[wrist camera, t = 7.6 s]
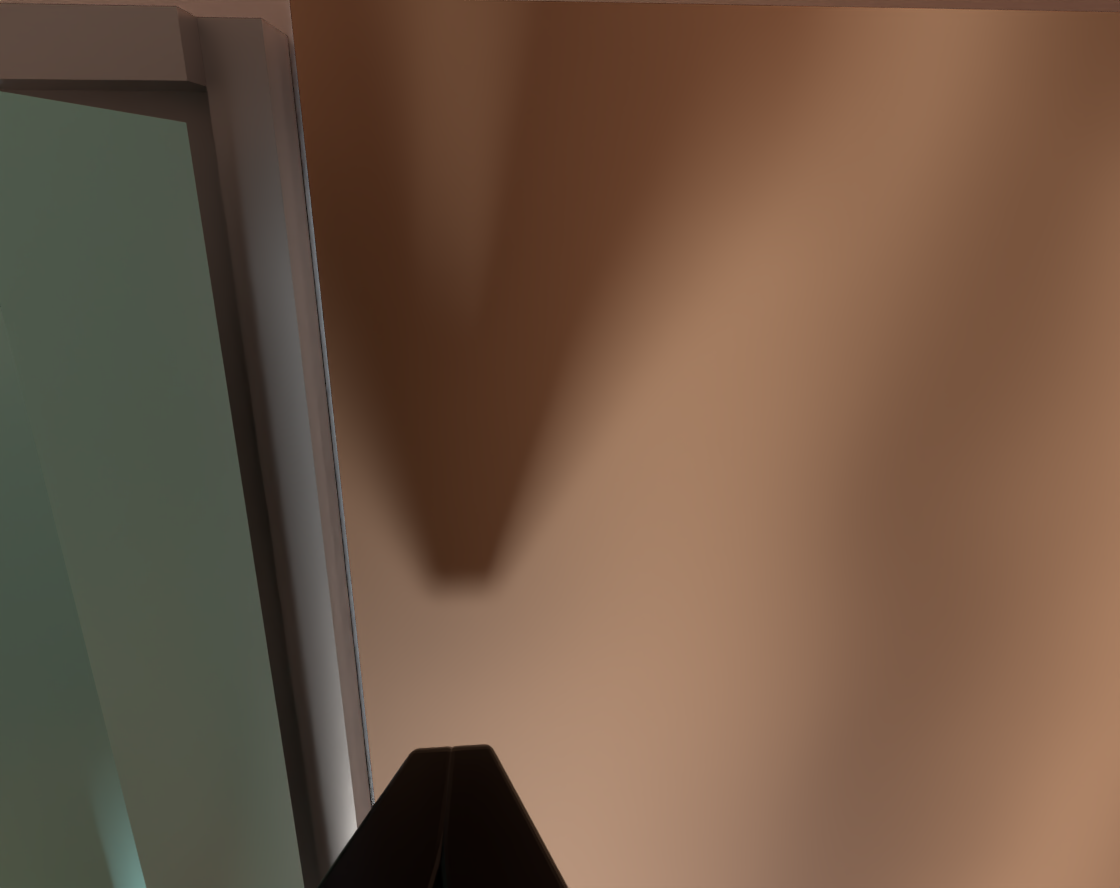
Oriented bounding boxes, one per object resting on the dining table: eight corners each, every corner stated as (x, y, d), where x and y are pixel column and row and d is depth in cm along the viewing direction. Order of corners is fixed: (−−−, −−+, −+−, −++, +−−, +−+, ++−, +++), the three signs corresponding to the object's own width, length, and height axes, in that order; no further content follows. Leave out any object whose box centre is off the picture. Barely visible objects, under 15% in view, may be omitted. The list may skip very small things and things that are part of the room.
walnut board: (1480, 53, 9) (1729, 23, 8) (1174, 887, 14) (1278, 997, 12) (334, 37, 8) (289, -3, 6) (417, 953, 13) (405, 1085, 11)
